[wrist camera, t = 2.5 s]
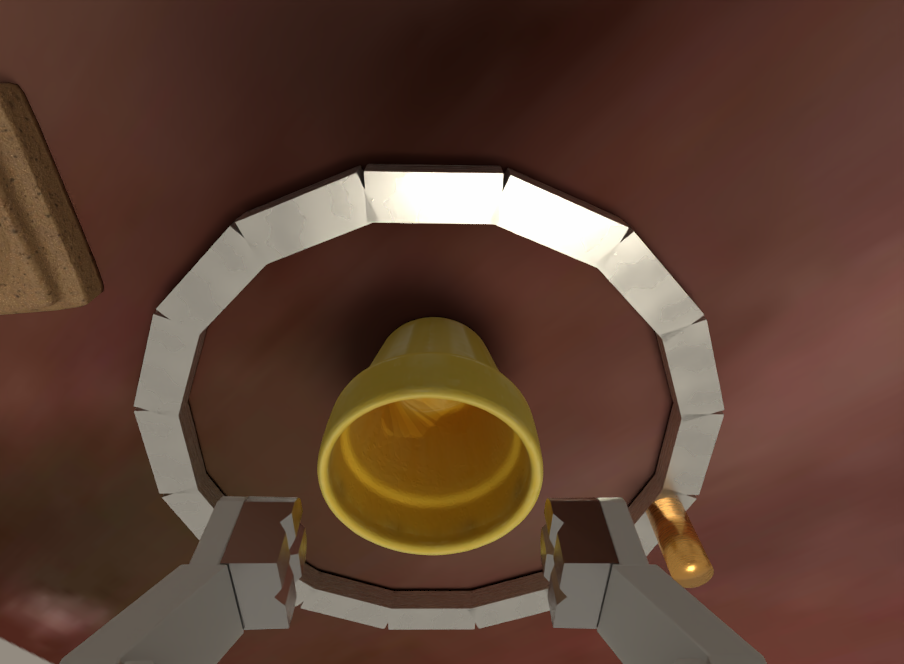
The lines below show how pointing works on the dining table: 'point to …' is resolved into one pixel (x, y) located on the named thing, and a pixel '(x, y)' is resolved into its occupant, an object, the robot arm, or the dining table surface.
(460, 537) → the plant pot
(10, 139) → the candle holder
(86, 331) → the dining table surface
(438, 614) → the ring
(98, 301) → the dining table surface
